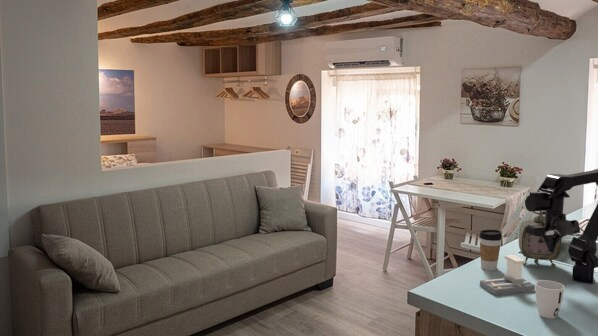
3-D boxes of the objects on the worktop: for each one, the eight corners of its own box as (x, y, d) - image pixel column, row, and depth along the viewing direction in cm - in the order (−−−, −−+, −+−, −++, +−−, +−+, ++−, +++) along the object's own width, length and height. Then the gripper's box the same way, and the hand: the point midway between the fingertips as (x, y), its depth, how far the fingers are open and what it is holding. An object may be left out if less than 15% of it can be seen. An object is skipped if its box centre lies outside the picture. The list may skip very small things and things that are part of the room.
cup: (560, 322, 159) (562, 291, 157) (531, 316, 163) (533, 286, 162) (563, 313, 166) (565, 283, 164) (535, 307, 170) (537, 278, 168)
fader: (512, 276, 190) (513, 254, 189) (524, 282, 184) (525, 260, 183) (502, 276, 189) (503, 255, 188) (514, 283, 183) (516, 261, 182)
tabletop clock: (520, 266, 209) (523, 205, 205) (516, 259, 217) (519, 200, 214) (559, 269, 205) (564, 207, 202) (553, 262, 214) (558, 202, 210)
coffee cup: (501, 272, 203) (504, 234, 201) (479, 270, 204) (480, 233, 202) (498, 264, 211) (500, 228, 209) (476, 263, 213) (478, 227, 210)
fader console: (518, 281, 193) (518, 274, 192) (534, 290, 184) (535, 283, 184) (479, 285, 189) (480, 278, 189) (494, 295, 180) (495, 287, 180)
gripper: (547, 216, 177) (544, 261, 179) (593, 213, 181) (590, 256, 183) (525, 209, 187) (523, 251, 190) (570, 206, 192) (567, 247, 194)
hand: (551, 251), depth 189 cm, fingers closed
